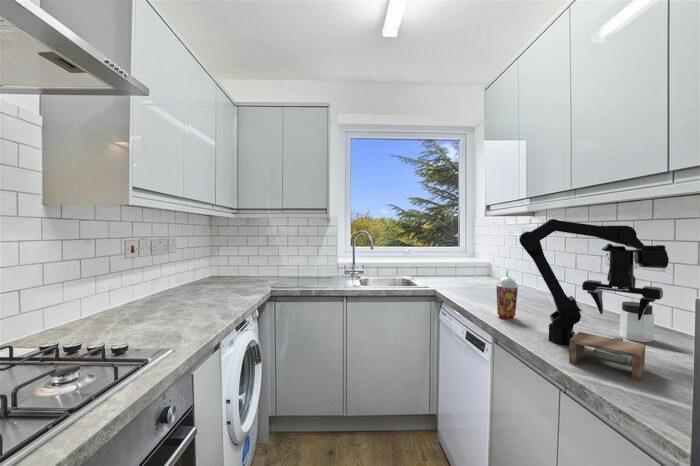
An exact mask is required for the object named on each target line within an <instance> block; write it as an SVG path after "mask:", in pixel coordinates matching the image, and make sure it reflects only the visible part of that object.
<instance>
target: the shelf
mask: <svg viewBox="0 0 700 466" xmlns="http://www.w3.org/2000/svg"><path fill="white" fill-rule="evenodd" d="M585 347H587V348H588V347H589V348H593V349H595V348H597V349H601V350H605V351H610V352H614V353H619V354H623V355H627V356H632V359H631V380H633V381H637V382H640V381H641V379H642V377H643V373H644V371H645V366H646V365H645V363H646V361H645V360H646V345H645V344H641V343H635V342H630V341H625V340H623V341H621V340H616V339H612V338H609V337H606V336H601V335H596V334H591V333H587V332H581V331H578V332H577V333H575V336H573V337H572V338H571V339H570V346H569V354H568V355H569V356H568V363H569V364H573V365H577V363H578V362H579V361H580V360H581V359H582V358H583V357H584V356H585Z"/></svg>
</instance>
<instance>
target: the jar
mask: <svg viewBox="0 0 700 466" xmlns="http://www.w3.org/2000/svg"><path fill="white" fill-rule="evenodd" d="M639 305H640V302H639V301H638V302H637V301H622V303H621V308H620V311H619V312H620V313H619V337H621V338H623V339H625V340H629V341H634V342H639V343H651V342H654V325H655V323H654V322H655V314H654V313H653V308H654V307H653V305H651V304H650V303H649V304H648V306H647V307H646V309H645V311H644V313H643V315H642V318H641V320H638V312H639Z"/></svg>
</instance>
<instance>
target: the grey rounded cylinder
mask: <svg viewBox="0 0 700 466" xmlns="http://www.w3.org/2000/svg"><path fill="white" fill-rule="evenodd" d="M608 338H612V339H616V340H621V341H624V338H623V337H621V336H614V335H609V336H608ZM620 355H622V354H620Z"/></svg>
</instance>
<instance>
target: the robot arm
mask: <svg viewBox="0 0 700 466" xmlns="http://www.w3.org/2000/svg"><path fill="white" fill-rule="evenodd" d="M554 232H558V233H559V232H560V233H566V234H574V235H581V236H587V237H594V238H597V239H601V240H604V241H607V242H608V243H607V244H606V245H605V246H604V247H602V248H601V251H604V252H609V263H608V264H609V266H608V267H609V268H608V273H607V277H606V278H607V279H606V280H607V282H608V284H607V283H602V280H593V279H587V280H584V281H583V282H582V284H581V286H582V287H581V290H583V291H586V293H587V294H590V296H591V297H592V298H593V300H594V302H595V304H596V305H595V306H596V307H597V310H598V311H599V313H600V315H603V314H604V304H603V291H609V292H610V291H611V292H617V293H626V294H627V293H628V294H633V295H635V294H636V295H641V296H642V297H641V298H640V299H639V303H640V305H639V312H638V320H641V318H642V315H643V313H644V311H645V309H646V307H647V306H648V304H649V305H650V302H652V303H654V302H656V301H657V300H661V299H663V297H664V291H663V288H661V287H659V286H658V287H656V286H648V285H645V286H643V287H641V288H640V287H636V281H637V278H636V276H635V274H634V264H635V265H636V264H637V265H638V266H639V267H640V268H648V269H649V268H650V269H652V268H653V269H666V268H668V266H669V263H670V261H669V260H670V259H669V258H670V257H669V256H668V252H667V250H666V245H663V244H656V245H645V244H643V242H642V241H641V240H640V239H639V237H638V236H637V235H638V234H637V231H636V230H635V228H634V227H632V226H630V225H595V224H588V223H580V222H574V221H573V222H572V221H566V220H559V219H555V218H552V219H548V220H547V221H546V222H545V223H542V224H541V225H539V226H538V227H536V228H535V229H533V230H529V231H524V232H522V233H521V235H520V236H519V239H518V240H519V244H520V245H521V246H522V248H523V249H524V250H525V252H526V253H527V254H528V255H529V256H530V258H531V259H532V261H533V262H534V264H535V266H536V268H537V269H538V272H539V274H540V275H541V277H542V278H543V281H544V282H545V284H546V286H547V289H548V291H549V292H550V294H551V295H552V299H553V302H554V306H555V309H556V310H555V311H554V312H552V313H551V314H550V315H549V318H550V320H551V323H549V324H548V342H550V343H553V344H556V345H558V346H559V345H560V346H569V347H570V339H571V338H572V337H573V336H575V335H576V332H575V331H574V326H575V325H576V324H578V323H579V322H581V319H582V315H581V312H582V309H581V308H580V307H579V306H578V303H577V300H576V298H575V297H574V296H573V295H570V296H568V295H567V294H566V293H565V291H564V289H563V287H562V285H561V284H560V282H559V280H558V278H557V276H556V275H555V273H554V270H553V269H552V267H551V266H550V264H549V262H548V260H547V258H546V256H545V254H544V249H543V247H542V243H541V240H544V239H545V238H546V237H548V236H549V235H551V234H553V233H554ZM609 242H610V243H609ZM612 243H613V244H618V245H613V244H612ZM619 245H620V246H619ZM622 245H625V246H622ZM626 247H627V248H628V247H629V248H634V249H626Z"/></svg>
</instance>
